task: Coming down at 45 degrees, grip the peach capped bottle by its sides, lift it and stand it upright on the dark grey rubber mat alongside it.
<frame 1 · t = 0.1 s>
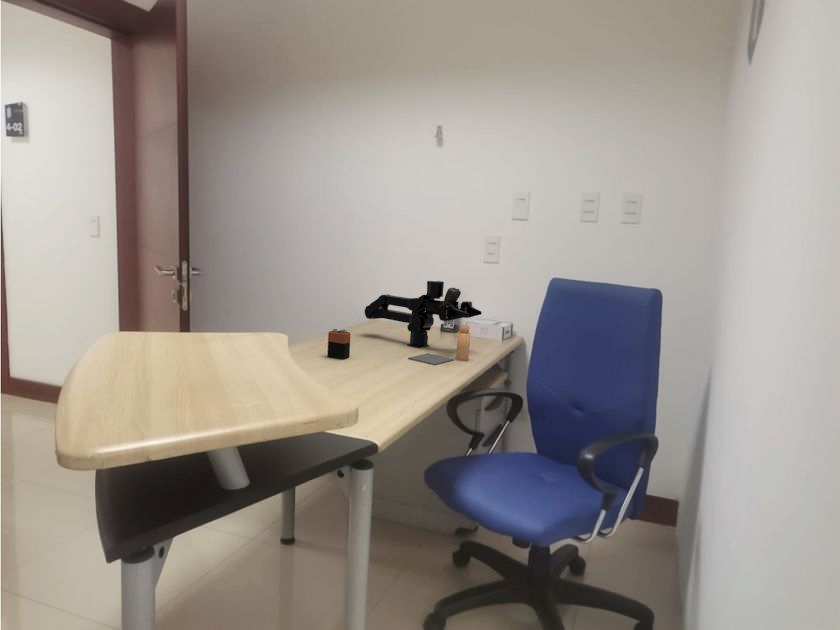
hand: (474, 313, 213), 17 cm above the table, tool horizontal, fingers open, 9 cm apart
battery: (338, 357, 202), on the table
mat: (431, 359, 207), on the table
peach capped bottle: (462, 359, 211), on the table
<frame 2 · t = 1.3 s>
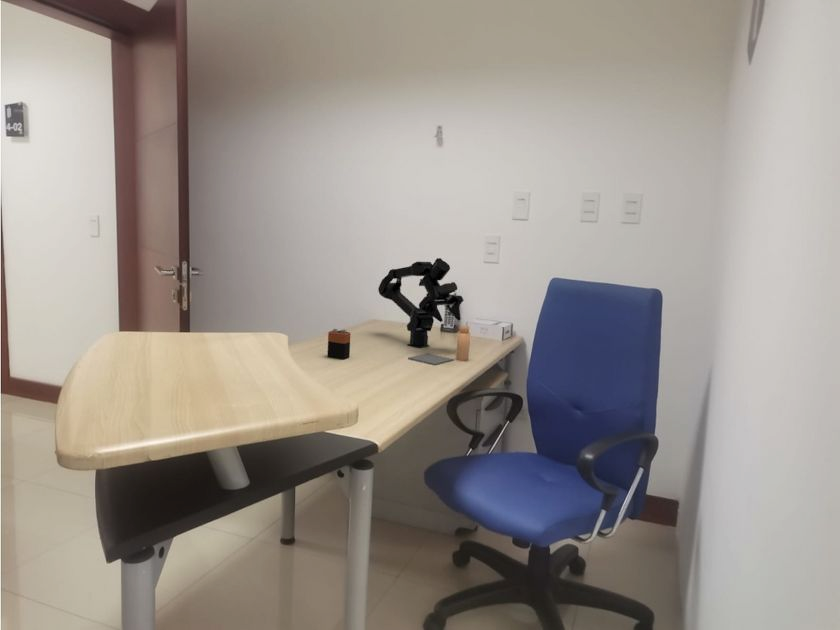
hand: (450, 320, 215), 13 cm above the table, tool tilted 45°, fingers open, 9 cm apart
nothing on the table moved.
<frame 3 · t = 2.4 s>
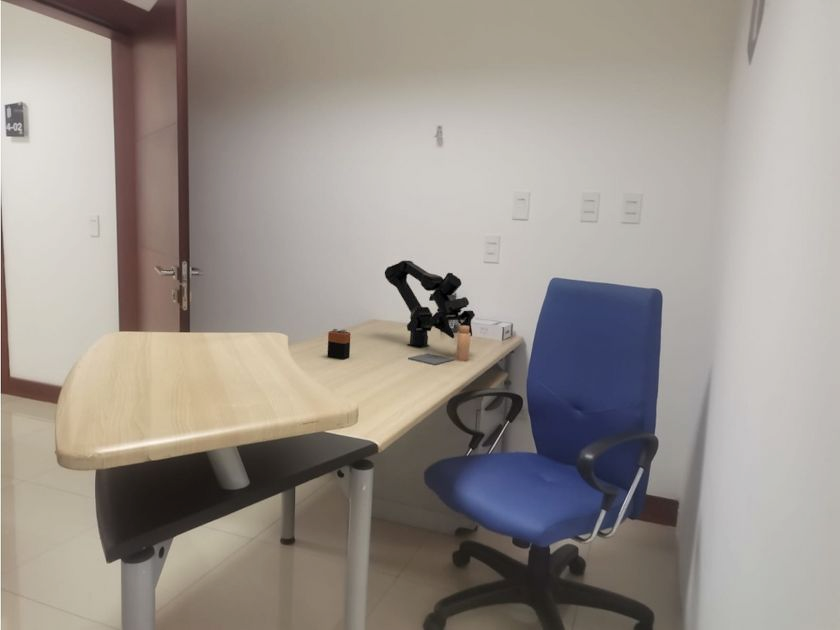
hand: (462, 336, 210), 8 cm above the table, tool tilted 45°, fingers open, 9 cm apart
nothing on the table moved.
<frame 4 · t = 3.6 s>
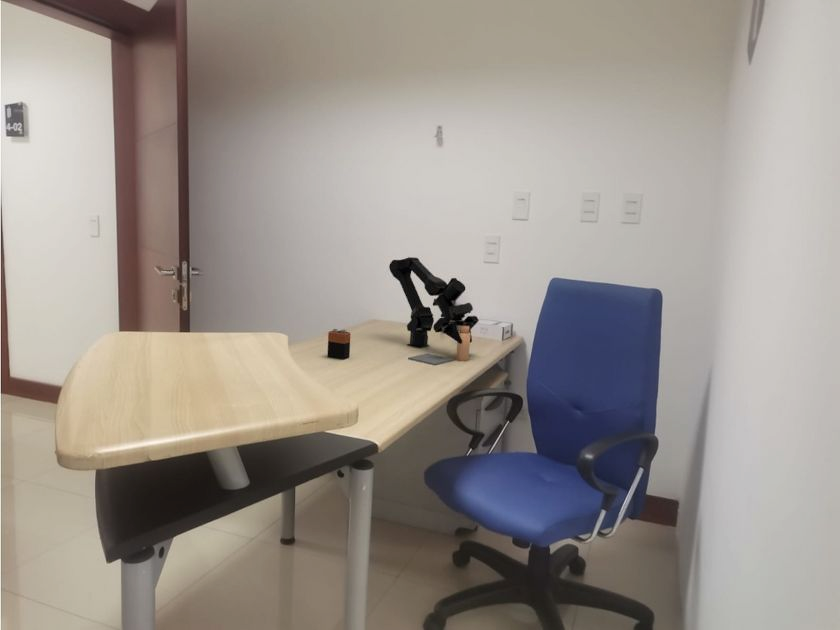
hand: (466, 342, 209), 7 cm above the table, tool tilted 45°, fingers closed on peach capped bottle, 5 cm apart
peach capped bottle: (462, 359, 211), on the table, touching gripper
everything else where it was.
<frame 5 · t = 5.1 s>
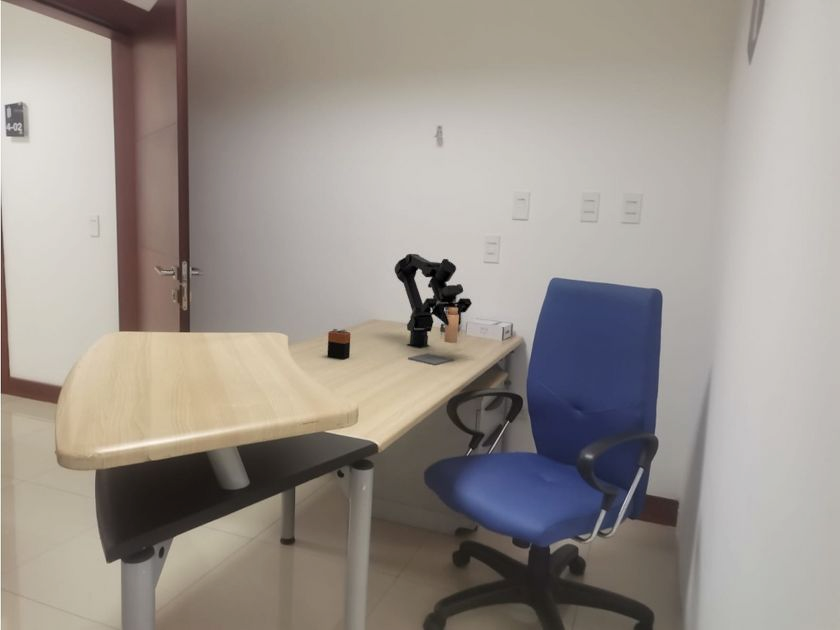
hand: (453, 324, 206), 13 cm above the table, tool tilted 45°, fingers closed on peach capped bottle, 5 cm apart
peach capped bottle: (450, 341, 208), point 7 cm above the table, touching gripper
everything else where it was.
when the fingers open (8 cm above the table, at t = 6.9 s): peach capped bottle stays where it is, resting on mat.
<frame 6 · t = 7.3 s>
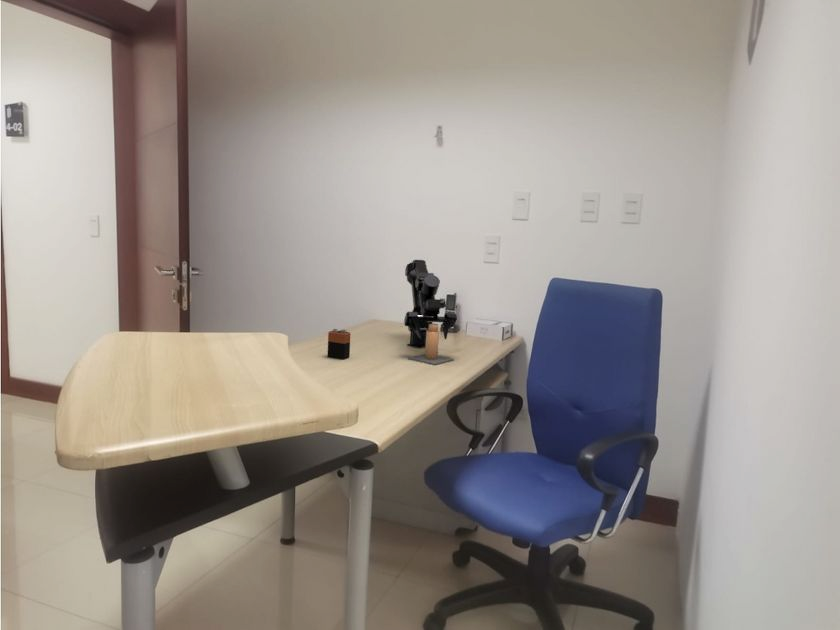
hand: (433, 338, 205), 8 cm above the table, tool tilted 45°, fingers open, 9 cm apart
peach capped bottle: (431, 358, 207), point 1 cm above the table, touching mat
everything else where it was.
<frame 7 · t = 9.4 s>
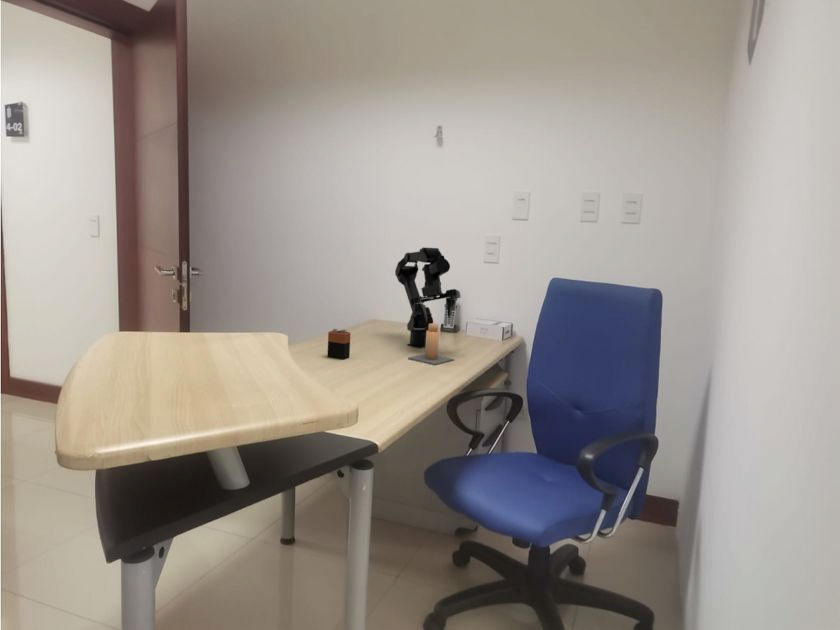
hand: (437, 319, 216), 13 cm above the table, tool tilted 20°, fingers open, 9 cm apart
nothing on the table moved.
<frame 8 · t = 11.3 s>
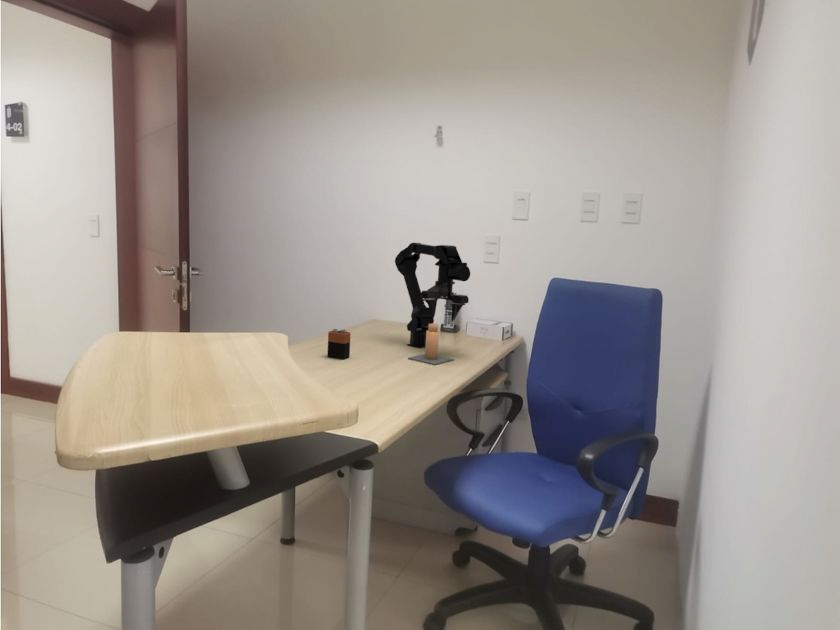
hand: (442, 319, 219), 13 cm above the table, tool pointing down, fingers open, 9 cm apart
nothing on the table moved.
at the end: peach capped bottle inside the target area on the mat (0.0 cm from its centre), point 0.5 cm above the mat's base; peach capped bottle tilted 0°; the gripper is holding nothing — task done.
